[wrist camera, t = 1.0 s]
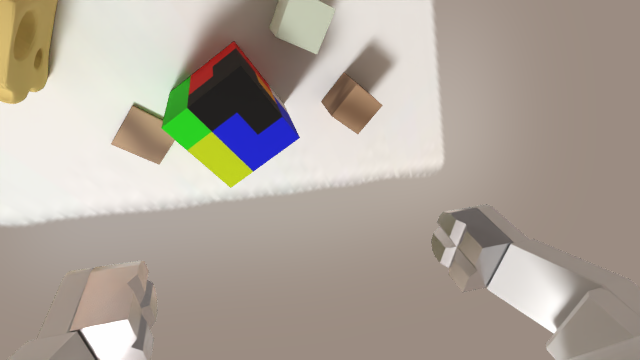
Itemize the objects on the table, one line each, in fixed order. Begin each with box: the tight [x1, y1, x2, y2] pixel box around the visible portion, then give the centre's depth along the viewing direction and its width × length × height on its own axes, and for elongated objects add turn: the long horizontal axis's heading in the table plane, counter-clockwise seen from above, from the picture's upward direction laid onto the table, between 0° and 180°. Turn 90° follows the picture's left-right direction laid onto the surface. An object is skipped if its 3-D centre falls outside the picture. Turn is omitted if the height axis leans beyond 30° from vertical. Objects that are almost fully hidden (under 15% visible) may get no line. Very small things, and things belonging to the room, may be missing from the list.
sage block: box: [269, 0, 336, 54], centre depth 37 cm, size 5×5×5 cm
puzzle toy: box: [161, 42, 300, 188], centre depth 38 cm, size 10×10×10 cm
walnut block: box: [321, 73, 382, 134], centre depth 45 cm, size 5×5×5 cm
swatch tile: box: [112, 105, 175, 164], centre depth 42 cm, size 6×6×1 cm
